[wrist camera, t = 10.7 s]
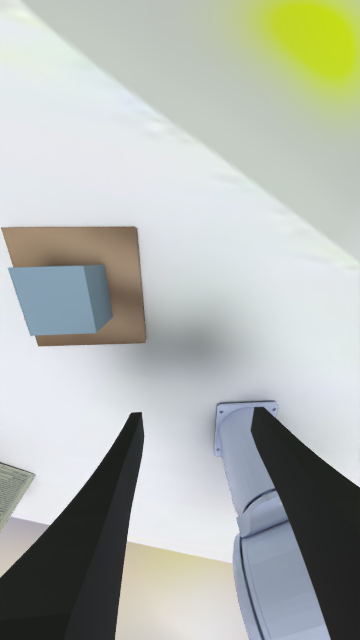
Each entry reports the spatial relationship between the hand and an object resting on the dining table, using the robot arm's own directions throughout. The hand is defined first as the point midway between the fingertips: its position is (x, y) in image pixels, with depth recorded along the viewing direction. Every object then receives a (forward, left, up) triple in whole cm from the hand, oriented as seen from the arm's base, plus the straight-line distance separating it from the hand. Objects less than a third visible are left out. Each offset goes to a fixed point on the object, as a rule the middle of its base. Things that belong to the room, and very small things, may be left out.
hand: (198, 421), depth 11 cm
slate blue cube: (+7, +10, -8) cm, 15 cm away
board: (+7, +10, -9) cm, 15 cm away
